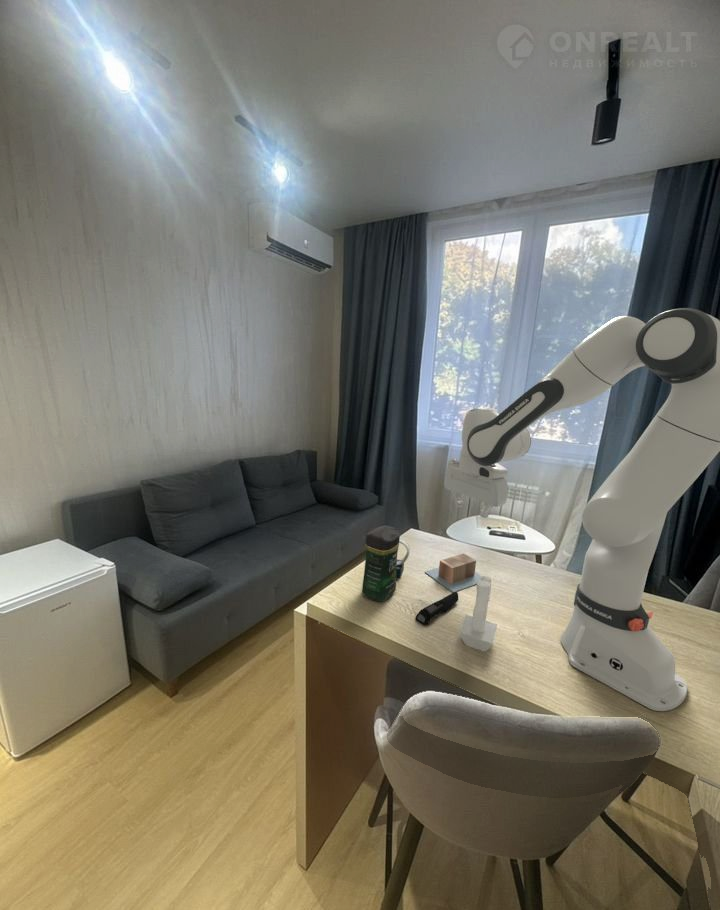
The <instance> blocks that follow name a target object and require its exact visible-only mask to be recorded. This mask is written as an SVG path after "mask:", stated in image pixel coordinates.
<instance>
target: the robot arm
mask: <svg viewBox="0 0 720 910" xmlns="http://www.w3.org/2000/svg"><path fill="white" fill-rule="evenodd" d="M642 367H646V368H647V369H648V370H650V371H651V372H653V374H655V375H657V376H658V377H659V378H660V379H662V380H663V381H664V382H665V383H668V384H671V389H670V392H669V395H668V396H667V399H666V400H665V402H664V403H663V404H662V406H661V407H660V408H659V410H658V411H657V413H656V415H654V417H653V418H652V420H651V422H650V423H649V424H648V426H647V427H646V428H645V430H644V431H643V433H642V434H641V436H640V437H639V438H638V440H637V441H636V442H635V444H634V445H633V447H632V448H631V450H630V451H629V452H628V453H627V455H625V457H624V458H622V459H621V461H620V462H619V464H617V466H616V467H615V468H614V469H613V471H612V472H611V473H610V474H609V475H608V476H607V478H606V479H605V480H604V481H603V483H602V484H601V485H600V487H598V489H597V490H596V492H595V493H594V494H593V496H592V497H591V498H590V500H589V501H588V502H587V503H586V505H585V507H584V509H583V511H582V514H581V521H582V522H581V523H582V526H583V529H584V531H585V532H586V533H587V534H588V535H589V537H591V538H592V539H591V542H590V544H589V546H588V549H587V550H586V553H585V556H584V561H583V566H582V567H583V568H582V571H581V576H580V577H581V578H580V581H579V583H578V584H577V587H576V590H575V594H574V599H573V601H574V602H573V611H572V614H571V617H570V619H569V621H568V625H567V626H566V628H565V630H564V631H563V633H562V634H561V638H560V641H561V645H562V647H563V648H564V650H565V651H566V653H567V655H568V660H569V661H568V662H569V664H570V665H571V666H572V667H574V668H576V669H577V670H579V671H581V672H582V673H584V674H587V676H590V677H591V678H593V679H595V680H597V681H599V682H601V683H602V684H604V685H606V686H608V687H610V688H611V689H614V690H615V691H617V692H619V693H620V694H622V695H624V696H626V697H628V698H629V699H632V700H633V701H635V702H637V703H638V704H641V705H642V706H645V707H646V708H648V709H650V710H652V711H657V712H666V711H667V712H668V711H671V710H674V709H675V708H677V707H678V706H680V705H682V703H683V702H684V701H685V699H686V698H687V695H688V685H687V682H686V680H685V679H684V677H682V676H681V675H679V674H678V673H676V660H675V657H674V654H673V653H672V651H671V650H670V649H669V648H668V647H667V646H666V645H665V644H664V642H663V641H662V640H661V639H660V637H659V636H658V635H656V633H655V632H654V631H653V630H652V628H651V627H650V626H649V623H650V619H652V618H653V617H652V616H653V613H654V612H653V611H650V612H648V613H647V612H646V610H645V608H644V607H643V605H642V600H643V594H644V592H645V591H644V590H645V585H646V581H647V577H648V573H649V569H650V567H651V566H652V565H651V564H652V562H653V559H654V555H655V553H656V550H657V548H658V544H659V541H660V538H661V534H662V531H663V528H664V525H665V520H666V518H667V515H668V512H669V511H670V509H671V508H673V506H674V505H675V504H676V503H677V501H678V500H680V499H681V497H682V496H683V495H684V494H685V493H686V491H687V490H688V489H689V488H690V487H692V485H693V484H694V482H695V481H696V480H697V479H698V478H699V476H700V475H701V474H702V473H703V472H704V470H706V468H707V467H708V466H709V464H710V463H712V461H713V459H714V458H715V457H716V456H717V455H718V454H719V452H720V319H718V318H716V317H714V316H712V315H711V314H708V313H706V312H704V311H702V310H699V309H695V308H691V307H686V308H685V307H683V308H682V307H680V308H674V309H669V310H666V311H664V312H661V313H659V314H657V315H656V316H654V317H652V318H651V319H650V320H648V322H646V323H645V322H644V321H642V320H641V319H640V318H637V317H634V316H630V315H622V316H616V317H614V318H612V319H611V320H610V321H608V322H606V323H605V324H603V325H602V326H600V327H599V328H598V329H596V330H595V331H593V332H592V333H591V334H590V335H588V336H587V337H585V339H583V340H582V341H581V342H580V343H579V344H578V345H577V346H576V347H574V349H572V351H570V352H569V353H568V354H567V355H566V356H565V357H564V358H563V359H562V360H561V361H560V362H559V363H558V364H557V365H555V367H553V369H551V370H550V371H549V372H548V373H547V374H546V375H545V376H544V377H542V378H541V379H540V380H539V381H538V382H537V383H535V384H534V385H532V387H530V388H529V389H528V390H527V391H525V392H524V393H523V394H521V396H519V397H518V398H517V399H516V400H514V401H513V402H512V403H511V404H510V405H508V406H507V407H506V408H505V409H504V410H502V412H500V413H498V411H497V410H496V409H495V408H493V407H480V408H473V409H470V410H468V411H467V412H466V414H465V416H464V420H463V423H462V432H461V442H462V447H461V450H460V453H459V460H456V459H451V460H449V461H448V463H447V468H446V470H445V476H444V482H443V486H444V488H445V489H446V490H449V491H451V492H452V496H453V498H454V502H455V503H454V506H455V507H457V508H458V509H459V508H462V507H464V501H463V500H462V498H461V495H463V496H465V497H468V498H470V499H473V500H475V501H479V502H482V503H483V504H484V505H483V506H484V507H485V508H484V509H481V510H480V514H479V515H480V517H482V518H484V519H487V518H488V517H489V515H490V514H489V513H490V511H491V510H492V508H493V507H497V508H498V507H501V506H504V505H505V504H506V503H507V499H508V481H507V479H506V477H507V476H508V474H509V471H508V469H507V468H506V467H504V466H502V465H501V464H499V463H502V462H507V461H511V460H515V459H519V458H521V457H524V456H525V455H526V454H527V453H528V452H529V451H530V448H531V444H532V437H531V435H530V432H529V430H528V428H529V427H531V426H533V424H534V423H535V422H536V421H538V420H540V419H541V418H543V417H545V416H548V415H550V414H551V413H554V412H558V411H560V410H565V409H569V408H573V407H577V406H581V405H585V404H586V403H588V402H590V401H592V400H594V399H595V398H597V397H599V396H601V395H603V394H604V393H605V392H607V391H608V390H609V389H610V388H612V387H613V386H614V385H616V383H618V382H619V381H620V380H621V379H623V378H624V377H625V376H626V375H628V374H629V373H631V372H632V371H633V370H634V371H635V370H636V369H638V368H642Z"/></svg>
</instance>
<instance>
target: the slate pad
mask: <svg viewBox="0 0 720 910" xmlns="http://www.w3.org/2000/svg"><path fill="white" fill-rule="evenodd" d="M424 573H425V574H426V575H428V576H429V577H430V578H432V579H433V580H435V581H436V582H437V583H438V584H440V585H441V586H443V587H444V588H446V589H447V590H448V591H450V592H451V593H453V592H457V593H458V592H460V591H462V590H465V589H468V588H470V587H473V586H477V582H478V581H481V577H483V576H482V575H481V574H479V573H478V572H476V571H475V575H474V576H472V577H469V578H466V579H463V580H460V581H457V582H455V583H452V584H450V583H448V582H447V581H445V580H444V579H442V578H441V577H440V576H438V574H439V567H435V568H433V569H430V570H425V571H424Z"/></svg>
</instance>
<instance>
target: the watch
mask: <svg viewBox="0 0 720 910" xmlns="http://www.w3.org/2000/svg"><path fill="white" fill-rule="evenodd" d="M399 544H402V545H403V546H404V547H405V548H406V554H405V555H404V557H403V558H401V559H398V558H397V567H396V579H399V580H400V579H401V578H402V574H403V572H404V570H405V569H404V567H405V563H406V561H407V560H408V558H409V555H410V551H411V549H410V546H409V544H408V542H407V541H406V540H404V539H403V538H400V540H399Z"/></svg>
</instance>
